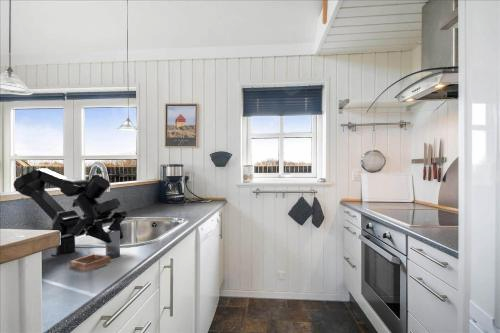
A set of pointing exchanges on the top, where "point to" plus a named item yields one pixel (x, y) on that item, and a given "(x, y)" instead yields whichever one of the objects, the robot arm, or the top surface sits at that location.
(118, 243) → the dark grey cylinder
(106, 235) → the robot arm
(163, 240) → the top surface
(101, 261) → the wooden board with frame
